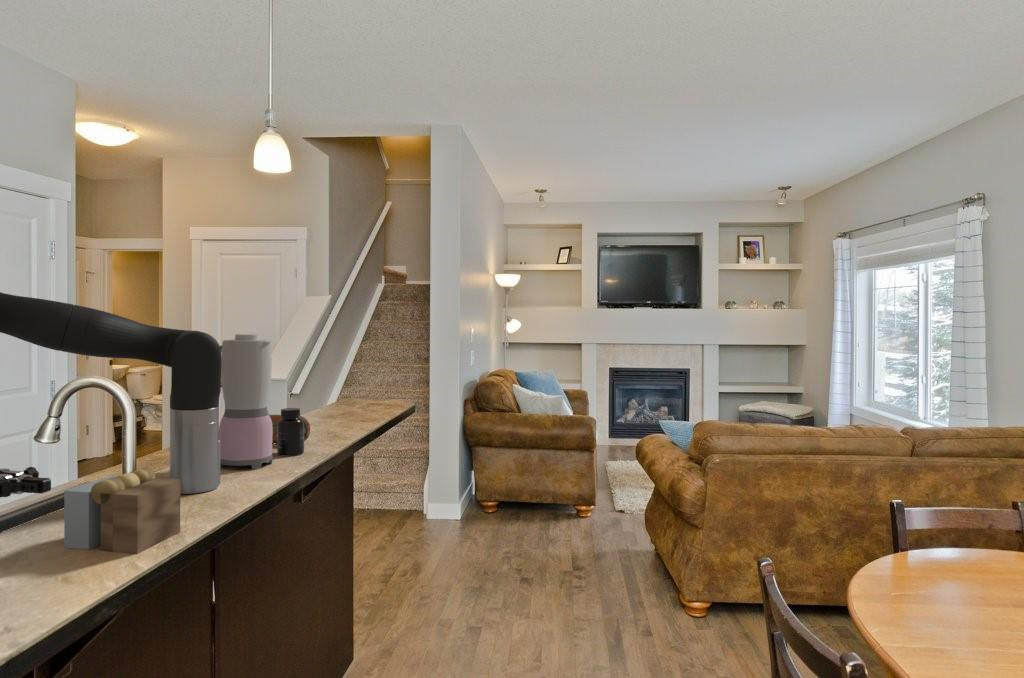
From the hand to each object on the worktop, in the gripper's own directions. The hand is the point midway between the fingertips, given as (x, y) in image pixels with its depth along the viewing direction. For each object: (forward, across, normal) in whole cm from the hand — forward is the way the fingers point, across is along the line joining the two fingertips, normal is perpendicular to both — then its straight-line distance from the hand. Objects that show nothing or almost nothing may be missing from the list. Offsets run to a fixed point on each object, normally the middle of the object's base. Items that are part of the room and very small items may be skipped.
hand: (47, 485), depth 105 cm
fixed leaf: (+16, 0, +8) cm, 18 cm away
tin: (+1, +78, +9) cm, 78 cm away
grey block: (+12, 0, +8) cm, 14 cm away
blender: (+3, +52, +9) cm, 53 cm away
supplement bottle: (+9, +66, +9) cm, 67 cm away
